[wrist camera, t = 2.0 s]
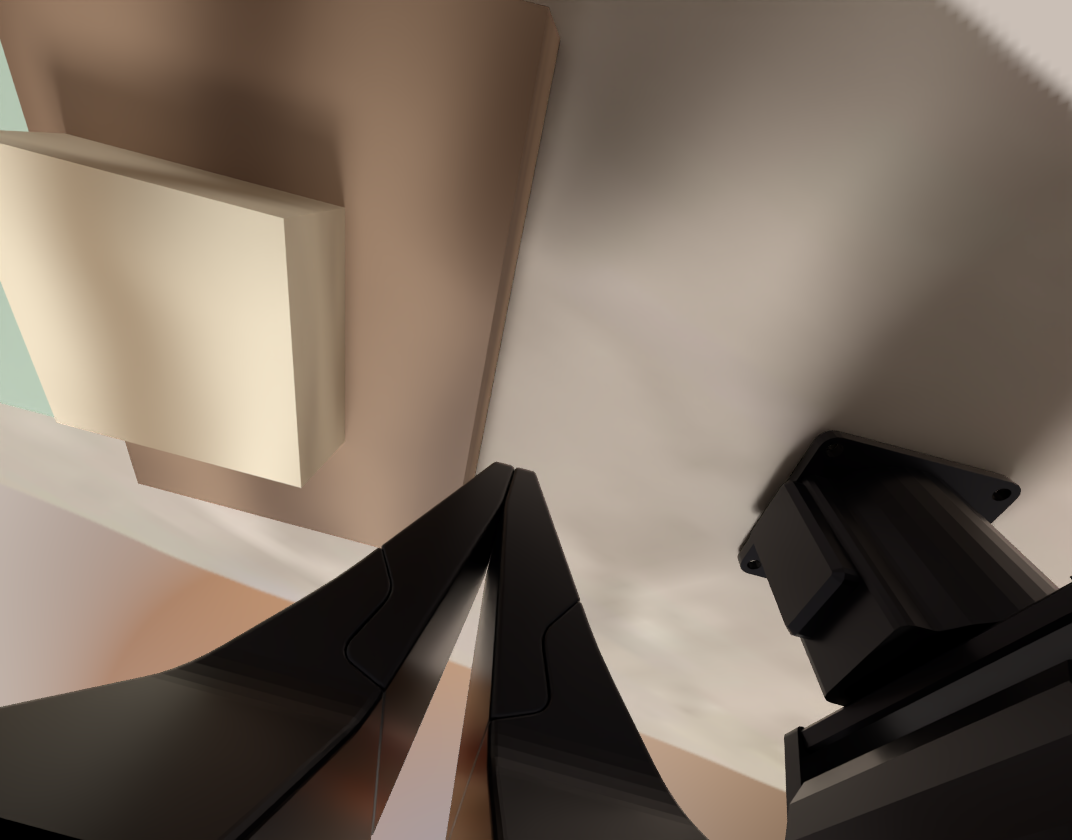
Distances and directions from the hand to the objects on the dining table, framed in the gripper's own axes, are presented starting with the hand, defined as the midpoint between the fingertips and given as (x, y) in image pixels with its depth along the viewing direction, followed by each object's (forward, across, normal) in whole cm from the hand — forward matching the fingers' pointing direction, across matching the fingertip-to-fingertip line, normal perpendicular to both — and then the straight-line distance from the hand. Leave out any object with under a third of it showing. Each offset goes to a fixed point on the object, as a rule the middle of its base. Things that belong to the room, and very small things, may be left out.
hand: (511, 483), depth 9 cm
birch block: (+4, +9, 0) cm, 10 cm away
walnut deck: (+6, +8, 0) cm, 10 cm away
